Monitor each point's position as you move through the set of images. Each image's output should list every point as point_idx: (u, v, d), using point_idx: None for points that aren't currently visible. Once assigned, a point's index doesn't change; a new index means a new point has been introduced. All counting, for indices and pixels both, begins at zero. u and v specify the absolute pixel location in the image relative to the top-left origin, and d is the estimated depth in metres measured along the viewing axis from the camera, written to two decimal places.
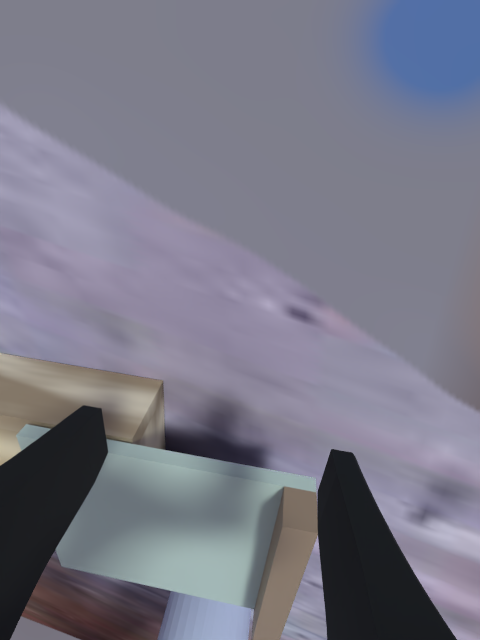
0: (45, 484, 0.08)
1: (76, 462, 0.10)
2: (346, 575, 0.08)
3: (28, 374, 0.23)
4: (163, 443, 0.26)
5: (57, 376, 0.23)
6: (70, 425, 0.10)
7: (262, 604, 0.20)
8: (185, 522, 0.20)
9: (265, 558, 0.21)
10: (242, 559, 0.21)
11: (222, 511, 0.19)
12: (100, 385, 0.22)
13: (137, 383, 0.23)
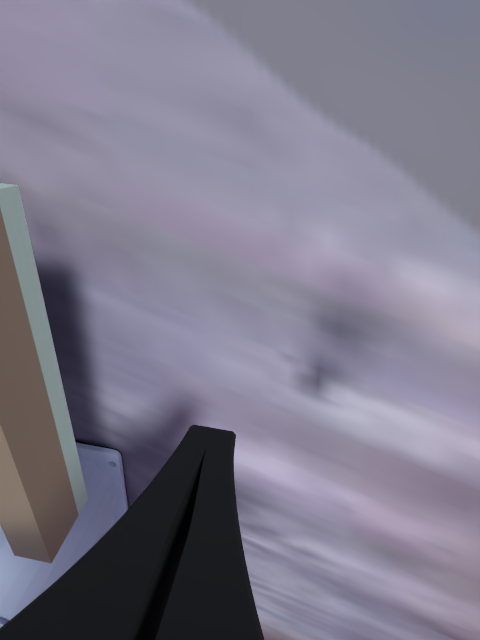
0: (184, 512, 0.08)
1: None
2: None
3: None
4: None
5: None
6: (193, 447, 0.09)
7: None
8: None
9: None
10: None
11: None
12: None
13: None
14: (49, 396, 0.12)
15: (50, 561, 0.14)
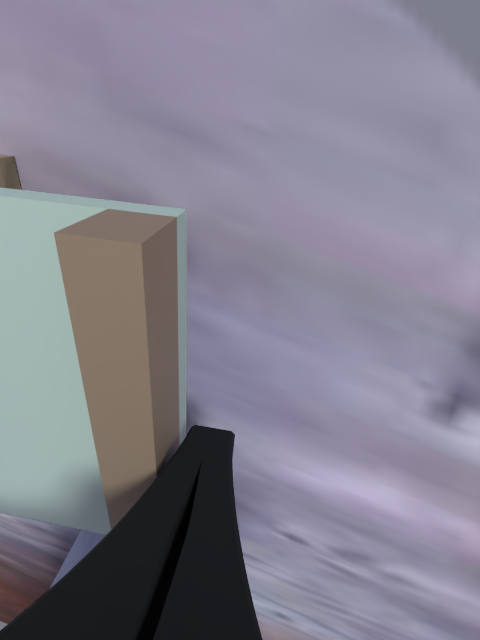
0: (185, 512, 0.08)
1: None
2: None
3: None
4: None
5: None
6: (194, 448, 0.09)
7: (107, 501, 0.10)
8: None
9: None
10: None
11: (20, 312, 0.10)
12: None
13: None
14: (179, 432, 0.11)
15: None
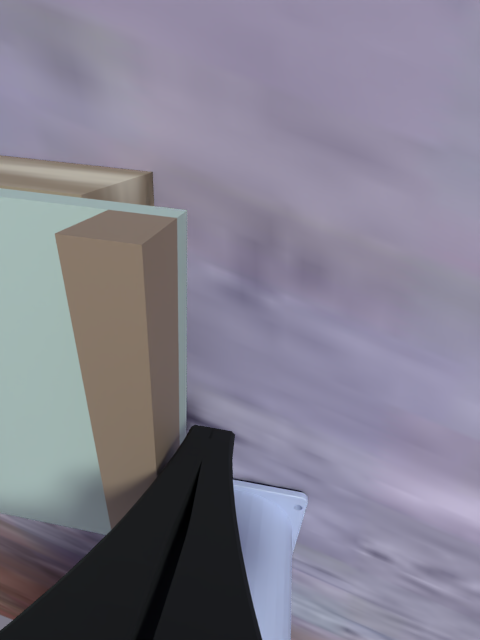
0: (185, 512, 0.08)
1: None
2: None
3: None
4: None
5: None
6: (194, 448, 0.09)
7: (107, 501, 0.10)
8: None
9: None
10: None
11: (20, 313, 0.10)
12: (37, 165, 0.12)
13: (106, 169, 0.13)
14: (179, 433, 0.11)
15: None
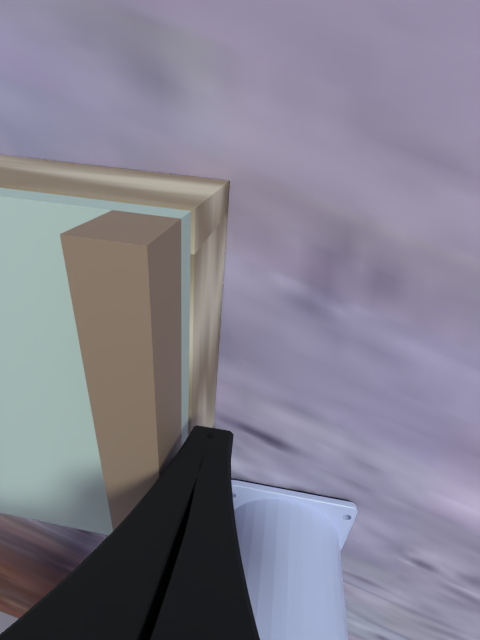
0: (187, 513, 0.08)
1: None
2: None
3: None
4: (219, 318, 0.15)
5: (39, 164, 0.12)
6: (196, 448, 0.09)
7: (109, 502, 0.10)
8: None
9: None
10: (96, 436, 0.12)
11: (23, 313, 0.10)
12: (118, 174, 0.12)
13: (185, 178, 0.12)
14: (181, 433, 0.11)
15: None
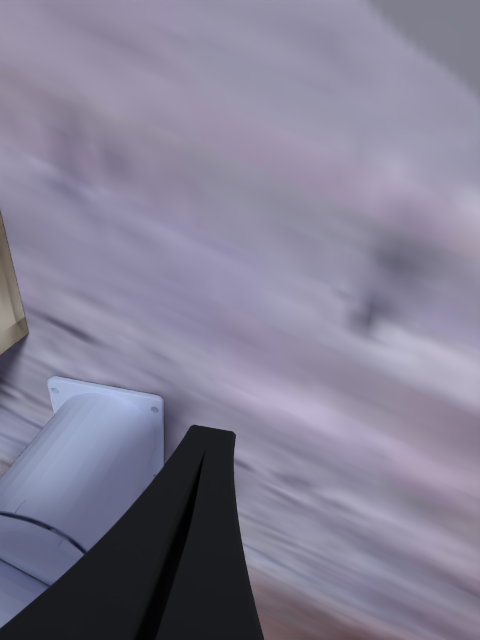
0: (184, 512, 0.08)
1: None
2: None
3: None
4: None
5: None
6: (193, 448, 0.09)
7: None
8: None
9: None
10: None
11: None
12: None
13: None
14: None
15: None
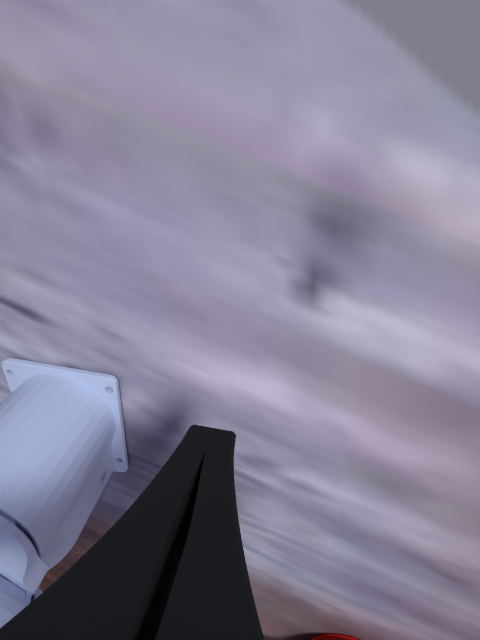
0: (183, 512, 0.08)
1: None
2: None
3: None
4: None
5: None
6: (192, 448, 0.09)
7: None
8: None
9: None
10: None
11: None
12: None
13: None
14: None
15: None
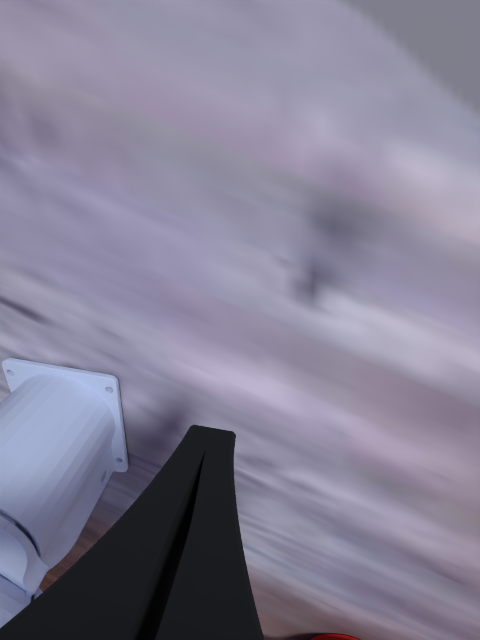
0: (183, 512, 0.08)
1: None
2: None
3: None
4: None
5: None
6: (192, 448, 0.09)
7: None
8: None
9: None
10: None
11: None
12: None
13: None
14: None
15: None
